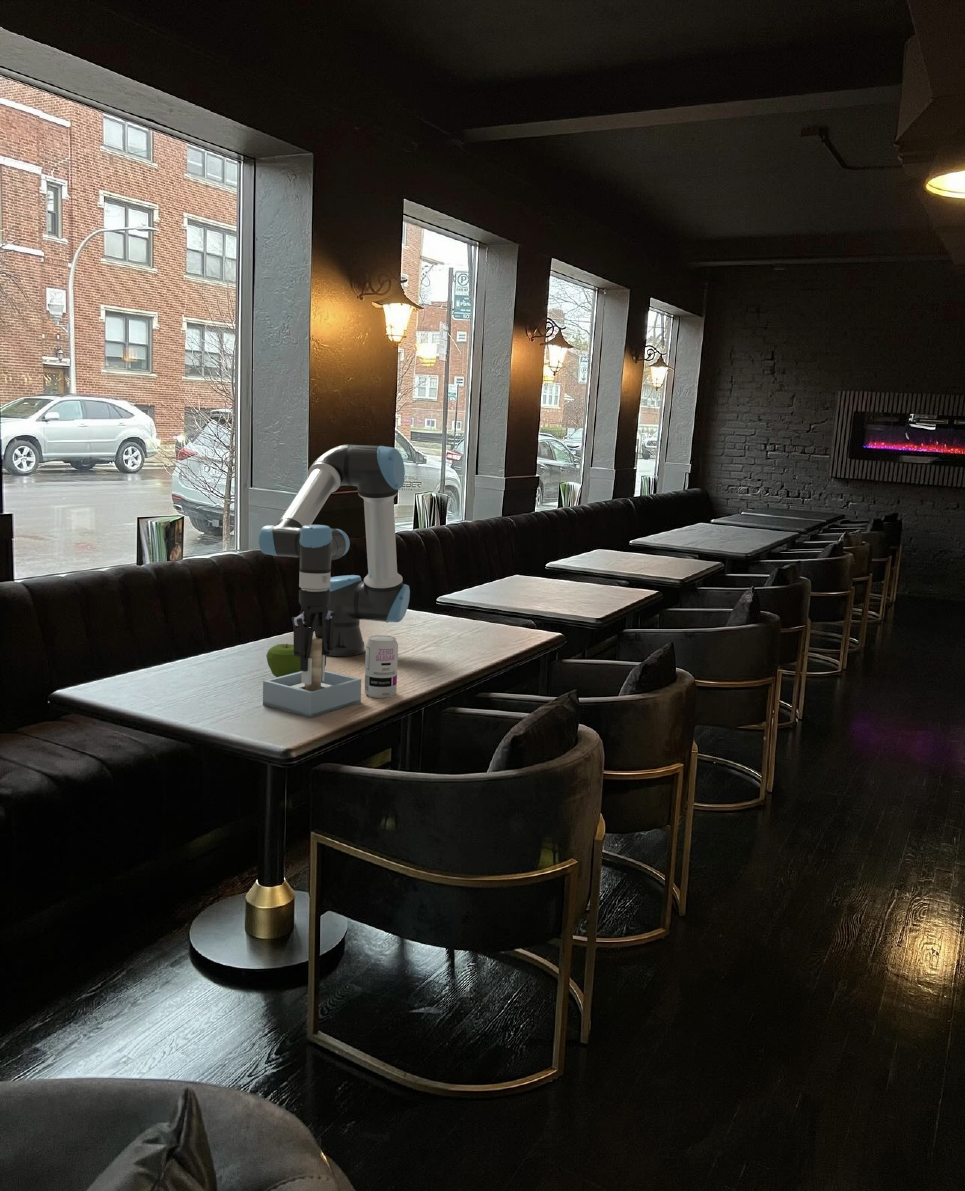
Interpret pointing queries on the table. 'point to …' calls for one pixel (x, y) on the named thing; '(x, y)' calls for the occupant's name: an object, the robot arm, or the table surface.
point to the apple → (283, 660)
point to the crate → (311, 694)
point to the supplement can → (381, 666)
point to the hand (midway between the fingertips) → (312, 681)
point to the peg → (315, 664)
